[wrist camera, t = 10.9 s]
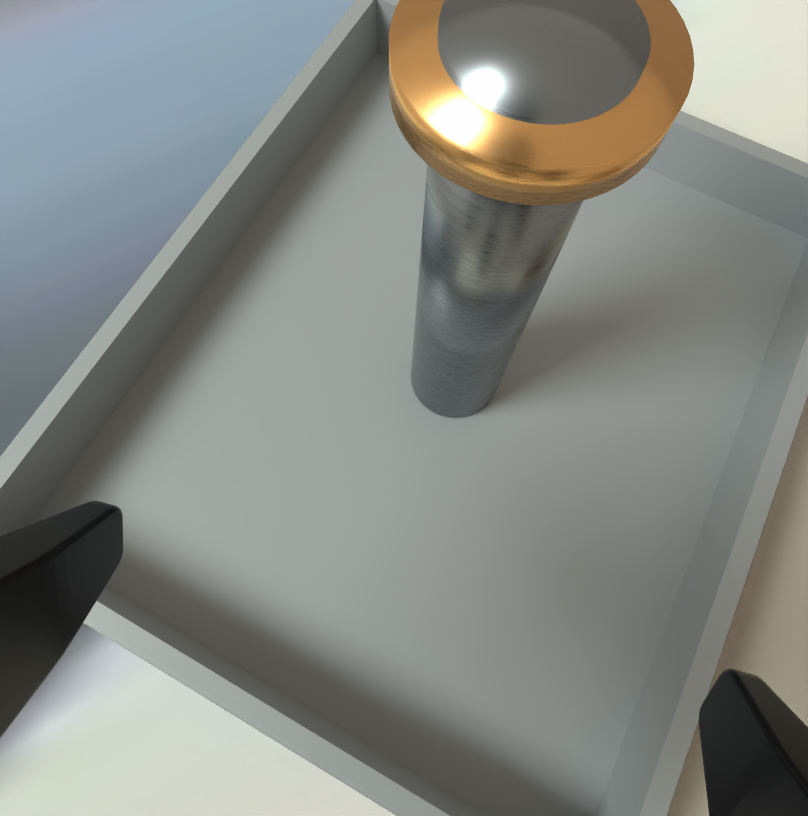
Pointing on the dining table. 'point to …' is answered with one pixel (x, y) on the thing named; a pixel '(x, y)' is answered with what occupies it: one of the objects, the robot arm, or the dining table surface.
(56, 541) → the robot arm
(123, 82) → the dining table surface
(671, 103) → the copper collared peg
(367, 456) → the tray
